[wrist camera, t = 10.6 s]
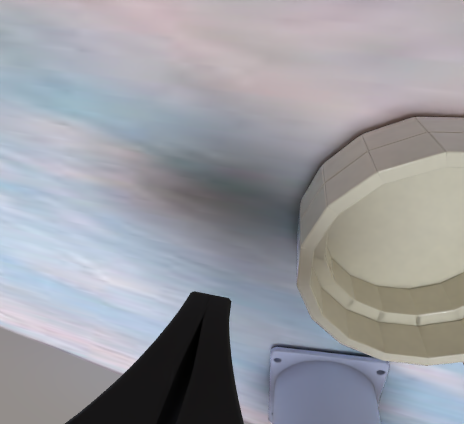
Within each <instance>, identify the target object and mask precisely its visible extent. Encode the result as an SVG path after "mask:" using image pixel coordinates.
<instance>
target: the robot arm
mask: <svg viewBox="0 0 464 424" xmlns="http://www.w3.org/2000/svg"><path fill="white" fill-rule="evenodd" d="M230 308H231V300H230V299H229V298H225V297H220V296H215V295H210V294H205V293H200V292H195V291H194V292H192V293H190V295H189V297H188V298H187V300H186V301H185V303H184V304H183V306H182V307H181V309H180V310H179V311H178V313H177V314H176V315H175V317H174V318H173V319H172V321H171V322H170V323H169V325H168V326H167V327H166V328H165V329H164V331H163V332H162V333H161V334H160V336H159V337H158V338H157V339H156V340H155V341H154V343H153V344H152V345H151V346H150V347H149V348H148V349H147V350H146V351H145V352H144V354H143V355H142V356H141V357H140V358H139V359H138V360H137V361H136V362H135V363H134V364H133V365H132V366H131V367H130V368H129V369H128V370H127V371H126V372H125V373H124V374H123V375H122V376H121V377H120V378H119V379H118V380H117V381H116V382H115V383H113V384H112V385H111V386H110V387H109V388H108V389H107V390H106V391H104V392H103V393H102V394H101V395H100V396H99V397H98V398H97V399H95V400H94V401H93V402H92V403H91V404H90V405H88V406H87V407H86V408H85V409H83V410H82V411H81V412H80V413H78V414H77V415H76V416H74V417H73V418H72V419H70V420H69V421H68V422H66V423H65V424H244V422H243V418H242V414H241V410H240V405H239V401H238V396H237V390H236V385H235V379H234V373H233V366H232V358H231V348H230V336H229V315H230ZM389 369H390V366H389V362H388V361H384V360H380V359H377V358H371V357H362V356H354V355H345V354H336V353H327V352H318V351H310V350H301V349H292V348H283V347H274V348H272V349H271V356H270V388H269V421H270V422H271V423H272V424H381V421H380V415H379V410H378V403H379V400H380V397H381V394H382V391H383V388H384V384H385V381H386V378H387V375H388V372H389Z"/></svg>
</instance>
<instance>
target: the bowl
mask: <svg viewBox="0 0 464 424" xmlns="http://www.w3.org/2000/svg"><path fill="white" fill-rule="evenodd" d="M297 287H298V290H299V292H300V294H301V296H302V299H303V301H304V303H305V305H306V308H307V310H308V312H309V314H310V316H311V318H312V319H313V320H314V321H315V322H316V323H317V324H318V325H319V326H321V327H322V328H323V329H324V330H325V331H326V332H328V333H329V334H330V335H331V336H332V337H333V338H334V339H336V340H337V341H338V342H339V343H340V344H342V345H345V346H347V347H350V348H352V349H355V350H357V351H360V352H362V353H365V354H367V355H370V356H372V357H375V358H377V359H380V360H384V361H392V362H400V363H408V364H416V365H425V366H428V365H429V366H430V365H439V364H449V363H458V362H464V118H453V117H415V118H414V117H412V118H409V119H406V120H403V121H400V122H397V123H394V124H391V125H388V126H385V127H382V128H379V129H376V130H373V131H370V132H367V133H364V134H362V135H360V136H359V137H357V138H356V139H355V140H353V141H352V142H351V143H350V144H348V145H347V146H346V147H344V148H343V149H342V150H340V151H339V152H338V153H337V154H335V155H334V156H333V157H331V158H330V159H329V160H328V161H326V162H325V163H324V164H323V165H322V166H321V167H320V169H319V170H318V172H317V174H316V176H315V177H314V179H313V181H312V182H311V184H310V186H309V187H308V189H307V191H306V192H305V194H304V196H303V198H302V199H301V201H300V211H299V222H298V234H297Z"/></svg>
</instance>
